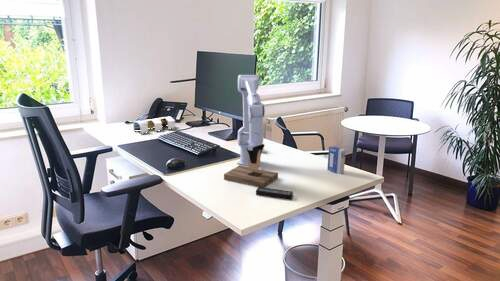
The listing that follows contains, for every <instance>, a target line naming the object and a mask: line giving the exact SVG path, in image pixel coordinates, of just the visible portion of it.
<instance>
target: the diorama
mask: <svg viewBox="0 0 500 281" xmlns="http://www.w3.org/2000/svg"><path fill="white" fill-rule="evenodd" d="M146 118H147V116H143V115H140V117H139V120H135V121H134V122H133V123H132V126H133V128H132V129H133V132H134V131H135V130H141V131H140V133H146V132H148V133H149V130H148V128H153V127H155V129H154V131H158V130H161V131H162V130H163V128H162V126H166V125H168V127H167V130H168V129H170V128H174V129H175V128H176V120H175V119H174V118H173V117H172V116H162V117H158V118H157V117H156V118H151V119H146ZM170 130H171V129H170ZM158 132H159V131H158Z"/></svg>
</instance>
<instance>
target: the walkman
mask: <svg viewBox="0 0 500 281" xmlns="http://www.w3.org/2000/svg"><path fill="white" fill-rule="evenodd" d="M345 162H346V149H344V148H340V147H338V146H334V145H331V146H329V147H328V159H327V168H326V169H327V171H329V172H332V173H335V174H338V175H342V174H344V173H345V164H346V163H345Z"/></svg>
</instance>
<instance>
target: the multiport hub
mask: <svg viewBox="0 0 500 281" xmlns="http://www.w3.org/2000/svg"><path fill="white" fill-rule="evenodd" d="M255 195H256V196H259V197H268V198H274V199H275V198H276V199H281V200H289V201H290V200H292V198H293V197H294V191H292V190H285V189H278V188H271V187H265V188H264V187H257V189H256V190H255Z"/></svg>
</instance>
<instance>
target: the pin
mask: <svg viewBox="0 0 500 281" xmlns="http://www.w3.org/2000/svg"><path fill="white" fill-rule="evenodd" d="M260 153H261V149H260V150H259V152H258V156H257V162H256V164H253V163H251V161H250V156H249V166H248V167H249V168H252V169H260V167H261V157H260ZM261 154H262V153H261Z"/></svg>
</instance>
